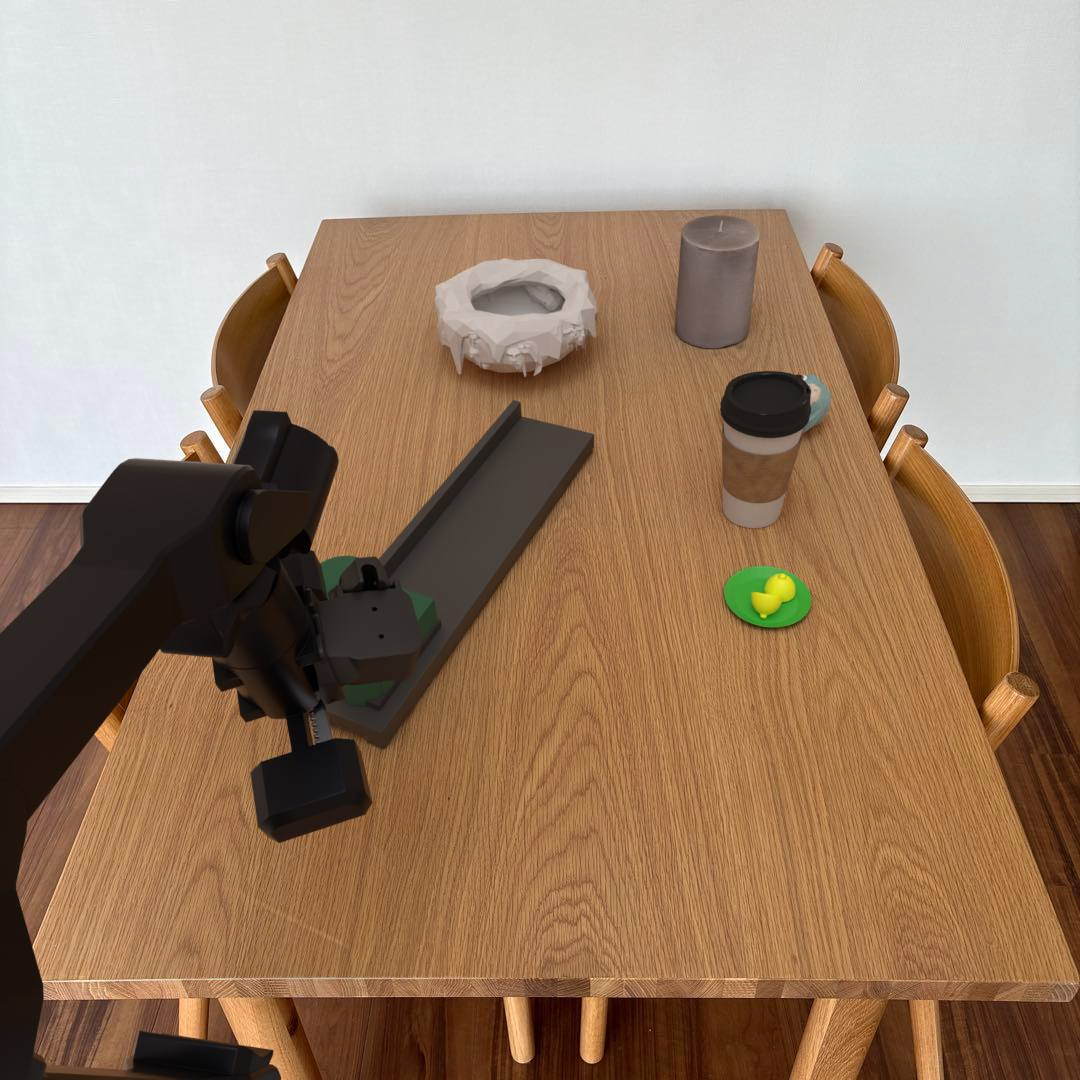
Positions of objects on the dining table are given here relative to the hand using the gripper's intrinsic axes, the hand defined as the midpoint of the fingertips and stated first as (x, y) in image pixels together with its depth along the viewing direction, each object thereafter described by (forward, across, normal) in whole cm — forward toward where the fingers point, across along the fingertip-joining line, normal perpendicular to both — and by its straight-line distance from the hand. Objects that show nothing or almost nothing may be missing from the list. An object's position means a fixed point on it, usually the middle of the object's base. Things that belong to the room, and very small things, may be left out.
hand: (327, 736), depth 66 cm
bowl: (+27, +58, -29) cm, 70 cm away
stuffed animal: (+24, +34, -52) cm, 67 cm away
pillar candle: (+29, +55, -54) cm, 82 cm away
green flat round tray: (+18, +9, -39) cm, 44 cm away
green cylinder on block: (+12, +12, -4) cm, 18 cm away
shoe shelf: (+18, +23, -13) cm, 32 cm away
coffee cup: (+21, +21, -43) cm, 53 cm away
